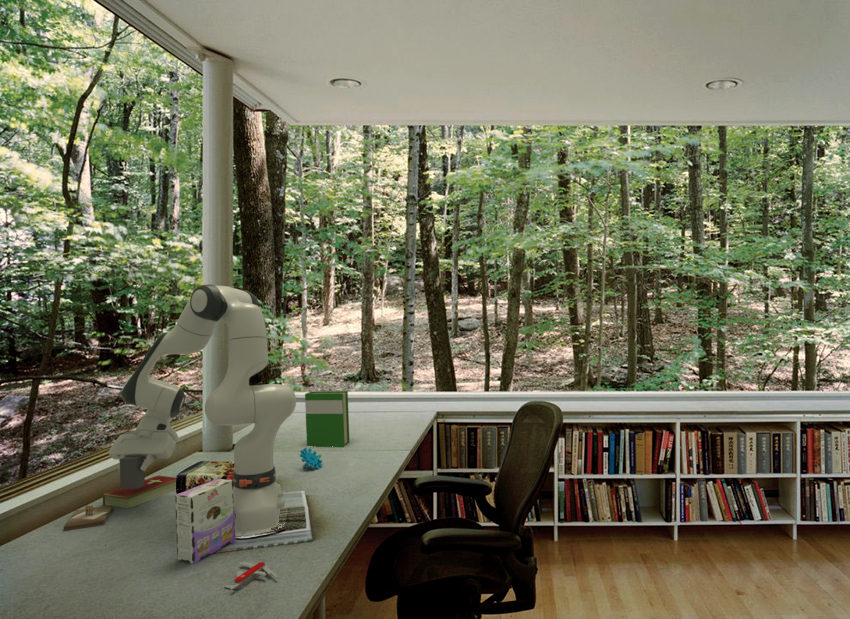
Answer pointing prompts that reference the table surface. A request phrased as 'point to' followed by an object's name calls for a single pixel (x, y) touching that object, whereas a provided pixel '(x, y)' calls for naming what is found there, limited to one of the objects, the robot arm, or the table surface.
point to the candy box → (204, 520)
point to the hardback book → (327, 418)
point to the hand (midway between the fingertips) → (130, 470)
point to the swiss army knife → (250, 574)
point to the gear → (311, 458)
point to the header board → (88, 517)
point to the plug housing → (131, 472)
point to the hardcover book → (140, 492)
